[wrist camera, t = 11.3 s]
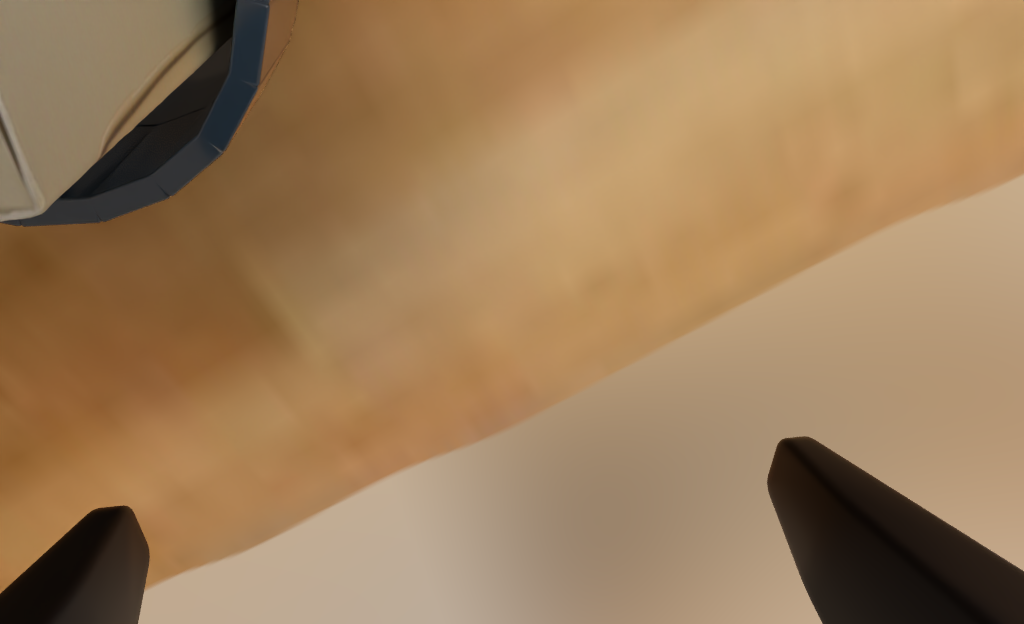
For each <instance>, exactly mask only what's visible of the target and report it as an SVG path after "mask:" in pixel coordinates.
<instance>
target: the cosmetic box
mask: <svg viewBox="0 0 1024 624" xmlns="http://www.w3.org/2000/svg"><path fill="white" fill-rule="evenodd" d="M235 6H236V0H0V222H2V221H7V220H17V219H26V218H31V217H34V216H38V215H40V214H42V213H44V212H45V211H46V210H47V209H48V208H49V207H50V206H51V205H52V204H53V203H54V202H55V201H56V200H57V199H58V198H59V197H60V196H61V195H62V194H63V193H64V192H65V191H66V190H68V189H69V188H70V187H71V186H72V185H73V184H74V183H75V182H76V181H77V180H79V179H80V178H81V177H82V176H83V175H84V174H85V173H86V172H87V171H88V170H89V169H90V168H91V167H92V166H93V165H94V164H95V163H96V162H97V161H99V160H100V159H101V158H102V157H103V156H104V155H105V154H106V153H107V152H108V151H109V150H110V149H112V148H113V147H114V146H115V145H116V144H117V142H119V141H120V140H121V139H122V138H123V137H124V136H125V135H127V134H128V133H129V132H131V131H132V130H133V129H134V127H135V126H136V125H137V124H138V123H139V122H141V121H142V120H143V119H144V118H145V117H146V116H147V115H148V114H149V113H150V112H152V111H153V110H154V109H155V108H156V106H158V105H159V104H160V103H162V102H163V100H164V99H165V98H166V97H167V96H168V95H169V94H170V93H172V92H173V91H174V90H175V89H176V88H177V87H178V86H179V85H181V84H182V83H183V82H184V81H185V80H186V79H187V78H188V77H189V76H190V75H192V74H193V73H194V72H195V70H197V69H198V68H199V67H200V66H201V65H202V64H203V63H204V62H205V61H206V60H207V59H208V58H209V57H211V56H212V55H213V54H214V53H215V52H216V51H217V50H218V49H219V48H220V47H221V46H222V45H223V44H224V43H225V42H226V41H228V40H229V39H230V38H231V37H232V33H233V24H234V15H235Z"/></svg>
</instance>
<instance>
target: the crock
mask: <svg viewBox="0 0 1024 624" xmlns="http://www.w3.org/2000/svg"><path fill="white" fill-rule="evenodd" d="M298 2H299V0H236V6H235V15H234V24H233V33H232V37H231V38H230V39H229V40H228V41H226V42H225V43H224V44H223V45H222V46H221V47H220V48H219V49H218V50H217V51H216V52H215V53H214V54H213V55H212V56H211V57H209V58H208V59H207V60H206V61H205V62H204V63H203V64H202V65H201V66H200V67H199V68H198V69H197V70H195V72H194V73H193V74H192V75H190V76H189V77H188V78H187V79H186V80H185V81H184V82H183V83H182V84H181V85H179V86H178V87H177V88H176V89H175V90H174V91H173V92H172V93H170V94H169V95H168V96H167V97H166V98H165V99H164V100H163V102H162V103H160V104H159V105H158V106H156V108H155V109H154V110H153V111H152V112H150V113H149V114H148V115H147V116H146V117H145V118H144V119H143V120H142V121H141V122H139V123H138V124H137V125H136V126H135V127H134V129H133V130H132V131H131V132H129V133H128V134H127V135H125V136H124V137H123V138H122V139H121V140H120V141H119V142H117V144H116V145H115V146H114V147H113V148H112V149H110V150H109V151H108V152H107V153H106V154H105V155H104V156H103V157H102V158H101V159H100V160H99V161H97V162H96V163H95V164H94V165H93V166H92V167H91V168H90V169H89V170H88V171H87V172H86V173H85V174H84V175H83V176H82V177H81V178H80V179H79V180H77V181H76V182H75V183H74V184H73V185H72V186H71V187H70V188H69V189H68V190H66V191H65V192H64V193H63V194H62V195H61V196H60V197H59V198H58V199H57V200H56V201H55V202H54V203H53V204H52V205H51V206H50V207H49V208H48V209H47V210H46V211H45V212H44V213H42V214H40V215H38V216H34V217H31V218H26V219H17V220H7V221H2V222H0V223H4V224H9V225H14V226H21V225H22V226H24V227H28V226H47V225H67V224H86V223H100V222H106V221H109V220H112V219H114V218H117V217H120V216H123V215H125V214H128V213H131V212H133V211H136V210H139V209H142V208H144V207H147V206H150V205H153V204H155V203H158V202H161V201H164V200H166V199H169V198H170V196H174V195H175V194H176V193H178V192H179V191H180V190H181V189H182V188H183V187H185V186H186V185H187V184H188V183H189V182H190V181H192V180H193V179H194V178H195V177H196V176H198V175H199V174H200V173H201V172H202V171H203V170H205V169H206V168H207V167H208V166H209V165H211V164H212V163H213V162H214V161H215V160H216V159H218V158H219V157H220V156H221V155H222V154H223V153H224V151H226V149H227V148H228V146H229V145H230V143H231V141H232V140H233V138H234V137H235V135H236V133H237V132H238V130H239V129H240V127H241V125H242V124H243V122H244V121H245V119H246V117H247V116H248V114H249V113H250V111H251V109H252V108H253V106H254V105H255V103H256V101H257V100H258V98H259V97H260V95H261V93H262V92H263V90H264V89H265V87H266V85H267V83H268V81H269V79H270V77H271V75H272V74H273V72H274V70H275V68H276V67H277V65H278V63H279V61H280V59H281V57H282V55H283V53H284V51H285V49H286V48H287V46H288V44H289V42H290V38H291V35H292V29H293V26H294V23H295V20H296V14H297V8H298Z"/></svg>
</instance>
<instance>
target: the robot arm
mask: <svg viewBox="0 0 1024 624" xmlns="http://www.w3.org/2000/svg"><path fill="white" fill-rule="evenodd" d="M767 485H768V491H769V495H770V498H771V500H772V503H773V505H774V508H775V511H776V513H777V516H778V519H779V521H780V524H781V526H782V529H783V531H784V534H785V537H786V539H787V542H788V545H789V547H790V550H791V553H792V555H793V558H794V561H795V563H796V566H797V569H798V571H799V574H800V576H801V579H802V581H803V584H804V586H805V588H806V590H807V593H808V595H809V597H810V599H811V601H812V603H813V605H814V607H815V609H816V611H817V613H818V615H819V617H820V619H821V621H822V623H823V624H1024V571H1023V570H1021V569H1019V568H1018V567H1016V566H1015V565H1013V564H1011V563H1010V562H1008V561H1007V560H1005V559H1004V558H1002V557H1000V556H999V555H997V554H996V553H994V552H992V551H991V550H989V549H988V548H986V547H984V546H983V545H981V544H979V543H978V542H976V541H975V540H973V539H971V538H970V537H969V536H967V535H965V534H964V533H962V532H961V531H959V530H957V529H956V528H954V527H953V526H951V525H949V524H948V523H946V522H945V521H943V520H941V519H940V518H938V517H937V516H935V515H934V514H932V513H930V512H929V511H927V510H926V509H924V508H922V507H921V506H919V505H918V504H916V503H914V502H913V501H911V500H910V499H908V498H907V497H905V496H903V495H902V494H900V493H899V492H897V491H895V490H894V489H892V488H891V487H889V486H887V485H886V484H884V483H883V482H881V481H880V480H878V479H876V478H875V477H873V476H872V475H870V474H868V473H866V472H865V471H864V470H862V469H860V468H859V467H857V466H856V465H854V464H852V463H851V462H849V461H848V460H846V459H844V458H843V457H841V456H840V455H838V454H836V453H835V452H833V451H832V450H830V449H828V448H827V447H825V446H824V445H822V444H821V443H819V442H817V441H816V440H814V439H812V438H810V437H794V438H785V439H782V440H781V441H780V442H779V443H778V445H777V448H776V451H775V455H774V458H773V461H772V465H771V468H770V471H769V474H768V480H767ZM149 557H150V556H149V547H148V544H147V541H146V539H145V537H144V535H143V532H142V530H141V528H140V525H139V523H138V521H137V519H136V516H135V514H134V512H133V511H132V509H131V508H130V507H128V506H114V507H105V508H98V509H95V510H93V511H91V512H90V513H88V514H87V515H86V516H85V517H84V518H83V519H82V520H81V521H79V522H78V523H77V524H76V525H75V526H74V527H73V528H72V529H71V530H70V531H69V532H67V533H66V534H65V535H64V536H63V537H62V538H61V539H60V540H59V541H58V542H56V543H55V544H54V545H53V546H52V547H51V548H50V549H49V550H48V551H47V552H46V553H44V554H43V555H42V556H41V557H40V558H39V559H38V560H37V561H36V562H35V563H33V564H32V565H31V566H30V567H29V568H28V569H27V570H26V571H25V572H24V573H23V574H21V575H20V576H19V577H18V578H17V579H16V580H15V581H14V582H13V583H12V584H10V585H9V586H8V587H7V588H6V589H5V590H4V591H3V592H2V593H1V594H0V624H138V620H139V615H140V609H141V604H142V599H143V593H144V588H145V583H146V577H147V572H148V567H149Z"/></svg>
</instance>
